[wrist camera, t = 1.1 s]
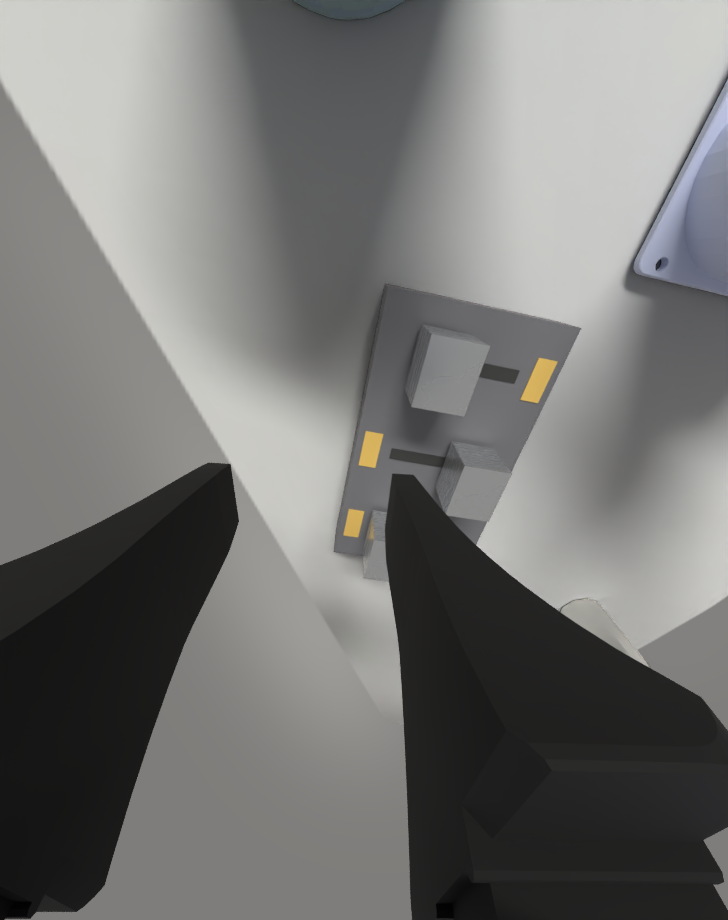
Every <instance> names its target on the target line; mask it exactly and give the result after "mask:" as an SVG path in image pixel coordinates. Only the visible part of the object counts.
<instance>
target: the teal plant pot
mask: <svg viewBox="0 0 728 920" xmlns="http://www.w3.org/2000/svg"><path fill="white" fill-rule="evenodd" d="M293 1H294V2H296V3H298V4H299V5H301V6H303V7H305V8H306V9H308V10H310V11H313V12H315V13H318V14H321V15H323V16H326V17H329V18H335V19H344V20H355V19H365V18H371V17H373V16H376V15H378V14H381V13H383V12H386V11H388V10H390V9H392V8H394V7H395V6H397V5H399V4H401V3H402V2H404V1H405V0H293Z"/></svg>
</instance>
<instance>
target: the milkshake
mask: <svg viewBox="0 0 728 920" xmlns="http://www.w3.org/2000/svg"><path fill="white" fill-rule="evenodd" d="M560 612H561V613H562V614H564V615H565V616H567V617H568V618H570V619H571V620H572V621H574V622H575V623H577V624H578V625H580V626H582V627H583V628H585V629H586V630H588V631H589V632H591V633H593V634H594V635H596V636H597V637H599V638H600V639H602V640H604V641H605V642H607V643H608V644H610V645H611V646H613V647H615V648H616V649H618V650H620V651H621V652H623V653H625V654H626V655H628V656H630V657H632V658H633V659H635V660H637V661H639V662H640V663H642V664H644V665H646V666H647V667H649V668H651V666H650V665H649V664H648V663H647V662H646V660H645V659H644V658H643V657H642V656H641V654H640V653H639V652H638V651H637V649H636V648H635V647H634V646H633V644H632V643H631V642H630V641H629V639H628V638H627V637H626V636H625V635H624V633H623V632H622V631H621V630H620V628H619V627H618V626H617V625H616V623H615V622H614V621H613V620H612V619H611V617H610V616H609V615H608V614H607V612H606V611H605V610H604V609H603V607H602V606H601V605H600V604H599V603H598V602H597V601H593V600H590V599H581V600H575V601H572V602H571V603H569V604H567V605H565V606H564V607H562V609H561V611H560ZM651 669H652V668H651Z"/></svg>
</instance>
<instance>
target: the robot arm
mask: <svg viewBox="0 0 728 920" xmlns="http://www.w3.org/2000/svg"><path fill="white" fill-rule="evenodd" d="M659 259H661V262H662V263H661V266H660V267H659V268H658V269H657V270H656V268H655V266H656V263H657V262H658V260H659ZM634 271H635V273H637V274H638V275H642V276H646V277H650V278H654V279H658V280H663V281H667V282H671V283H675V284H679V285H683V286H687V287H691V288H696V289H700V290H704V291H708V292H712V293H716V294H720V295H725V296H728V80H727V82H726V84H725V86H724V88H723V90H722V91H721V93H720V95H719V97H718V99H717V101H716V103H715V105H714V107H713V109H712V111H711V113H710V115H709V117H708V119H707V121H706V123H705V125H704V127H703V129H702V130H701V132H700V134H699V136H698V138H697V140H696V142H695V144H694V146H693V148H692V150H691V152H690V154H689V156H688V158H687V160H686V162H685V164H684V166H683V168H682V169H681V171H680V173H679V175H678V177H677V179H676V181H675V183H674V185H673V187H672V189H671V191H670V193H669V195H668V197H667V199H666V201H665V203H664V205H663V207H662V208H661V210H660V212H659V214H658V216H657V218H656V220H655V222H654V224H653V226H652V228H651V230H650V232H649V234H648V236H647V238H646V240H645V242H644V244H643V246H642V247H641V249H640V251H639V253H638V255H637V257H636V259H635V262H634ZM238 522H239V519H238V512H237V506H236V498H235V492H234V485H233V479H232V471H231V464H221V463H207V464H205V465H203V466H201V467H199V468H197V469H195V470H193V471H191V472H190V473H188V474H186V475H184V476H183V477H181V478H179V479H178V480H176V481H174V482H172V483H171V484H169V485H167V486H165V487H164V488H162V489H160V490H158V491H157V492H155V493H153V494H151V495H150V496H148V497H147V498H144V499H143V500H141V501H139V502H137V503H135V504H133V505H132V506H130V507H128V508H126V509H124V510H122V511H120V512H118V513H116V514H115V515H112V516H111V517H109V518H107V519H105V520H103V521H101V522H99V523H97V524H95V525H93V526H91V527H89V528H87V529H85V530H83V531H81V532H79V533H76V534H75V535H72V536H70V537H68V538H65V539H63V540H61V541H59V542H57V543H54V544H52V545H50V546H47V547H45V548H43V549H41V550H38V551H36V552H33V553H31V554H29V555H26V556H23V557H21V558H18V559H16V560H13V561H10V562H8V563H5V564H3V565H0V920H4V919H7V918H8V919H12V918H13V919H16V918H17V919H18V918H19V919H22V918H23V919H30V918H31V917H32V916H33V915H34V914H35V913H36V912H77V911H78V910H80V909H81V908H83V907H84V906H85V905H86V904H87V903H88V902H89V901H90V900H91V899H92V898H93V897H95V895H96V894H97V893H98V892H99V891H100V890H101V889H102V887H103V886H104V885H105V882H106V878H107V875H108V871H109V868H110V864H111V861H112V857H113V854H114V851H115V847H116V844H117V841H118V838H119V834H120V831H121V828H122V825H123V821H124V818H125V815H126V811H127V808H128V805H129V802H130V798H131V794H132V792H133V789H134V786H135V782H136V779H137V777H138V773H139V770H140V767H141V764H142V761H143V758H144V755H145V752H146V749H147V746H148V743H149V740H150V737H151V734H152V731H153V728H154V725H155V723H156V720H157V717H158V714H159V711H160V708H161V706H162V703H163V700H164V697H165V694H166V692H167V689H168V686H169V683H170V681H171V678H172V675H173V673H174V670H175V667H176V665H177V662H178V659H179V657H180V654H181V652H182V649H183V646H184V644H185V642H186V639H187V637H188V635H189V633H190V630H191V628H192V626H193V624H194V622H195V620H196V618H197V616H198V614H199V612H200V610H201V608H202V606H203V604H204V602H205V600H206V597H207V596H208V594H209V592H210V589H211V587H212V586H213V583H214V581H215V579H216V577H217V575H218V573H219V571H220V569H221V567H222V565H223V563H224V561H225V558H226V557H227V555H228V552H229V550H230V547H231V544H232V541H233V538H234V535H235V532H236V529H237V525H238ZM385 550H386V564H387V571H388V577H389V584H390V590H391V596H392V603H393V609H394V616H395V622H396V628H397V635H398V643H399V652H400V667H401V683H402V699H403V717H404V736H405V756H406V776H407V777H406V779H407V800H408V801H407V802H408V829H409V830H408V831H409V859H410V894H411V910H412V920H728V910H727V908H726V906H725V905H724V903H723V901H722V899H721V898H720V896H719V894H718V893H717V891H716V889H715V887H714V885H713V884H720V883H723V882H724V879H723V874H722V871H721V870H720V868H719V866H718V865H717V863H716V861H715V859H714V858H713V856H712V855H711V853H710V851H709V849H708V848H707V846H706V844H705V843H704V841H703V840H704V839H706V838H708V837H710V836H712V835H713V834H715V833H717V832H719V831H721V830H723V829H725V828H727V827H728V731H727V729H726V728H725V727H724V725H723V724H722V723H721V722H720V720H719V719H718V718H717V717H716V715H715V714H714V713H713V711H712V710H711V709H710V708H709V707H708V705H707V704H706V703H705V702H704V700H703V699H702V698H701V697H700V696H698V695H696V694H694V693H693V692H691V691H689V690H688V689H686V688H684V687H682V686H680V685H678V684H677V683H675V682H674V681H672V680H670V679H668V678H666V677H664V676H663V675H661V674H659V673H658V672H656V671H654V670H653V669H651V668H649V667H647V666H646V665H644V664H642V663H640V662H639V661H637V660H635V659H633V658H632V657H630V656H628V655H626V654H625V653H623V652H621V651H620V650H618V649H616V648H615V647H613V646H611V645H610V644H608V643H607V642H605V641H604V640H602V639H600V638H599V637H597V636H596V635H594V634H593V633H591V632H589V631H588V630H586V629H585V628H583V627H582V626H580V625H578V624H577V623H575V622H574V621H572V620H571V619H570V618H568V617H567V616H565V615H564V614H562V613H561V612H559V611H558V610H556V609H555V608H553V607H552V606H551V605H549V604H548V603H547V602H545V601H544V600H542V599H541V598H540V597H538V596H537V595H536V594H534V593H533V592H532V591H530V590H529V589H527V588H526V587H525V586H523V585H522V584H521V583H520V582H518V581H517V580H516V579H515V578H513V577H512V576H511V575H509V574H508V573H507V572H506V571H505V570H504V569H502V568H501V567H500V566H499V565H498V564H497V563H495V562H494V561H493V560H492V559H491V558H489V557H488V556H487V555H486V554H485V553H484V552H483V551H482V550H481V549H480V548H478V547H477V546H476V545H475V544H474V543H473V542H472V541H471V540H470V539H469V538H468V537H467V536H466V535H465V534H464V533H463V532H462V531H461V530H460V529H459V528H458V527H457V526H456V525H455V523H454V522H453V521H452V520H451V519H450V518H449V517H448V516H447V515H446V513H445V512H444V511H443V510H442V509H441V508H440V507H439V505H438V504H437V503H436V502H435V501H434V499H433V498H432V497H431V496H430V494H429V493H428V492H427V491H426V489H425V488H424V487H423V486H422V484H421V483H420V482H419V481H418V479H417V478H416V477H415V476H414V475H410V474H393V473H392V479H391V486H390V494H389V501H388V509H387V516H386V523H385Z"/></svg>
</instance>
